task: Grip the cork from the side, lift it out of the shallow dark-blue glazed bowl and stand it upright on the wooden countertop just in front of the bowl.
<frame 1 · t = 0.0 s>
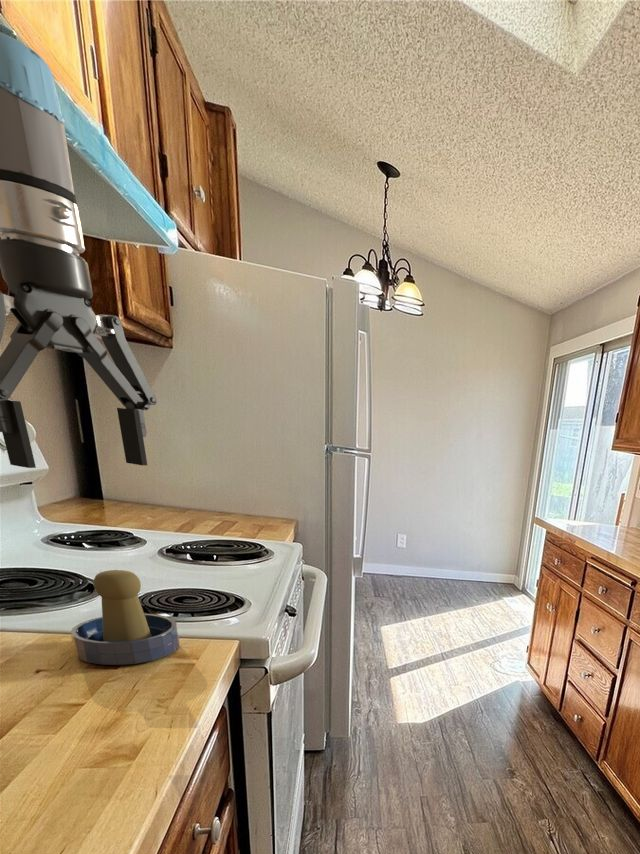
hand: (85, 465, 66), 25 cm above the worktop, tool pointing down, fingers open, 13 cm apart
cork: (130, 649, 79), resting on bowl
bowl: (130, 650, 79), on the worktop
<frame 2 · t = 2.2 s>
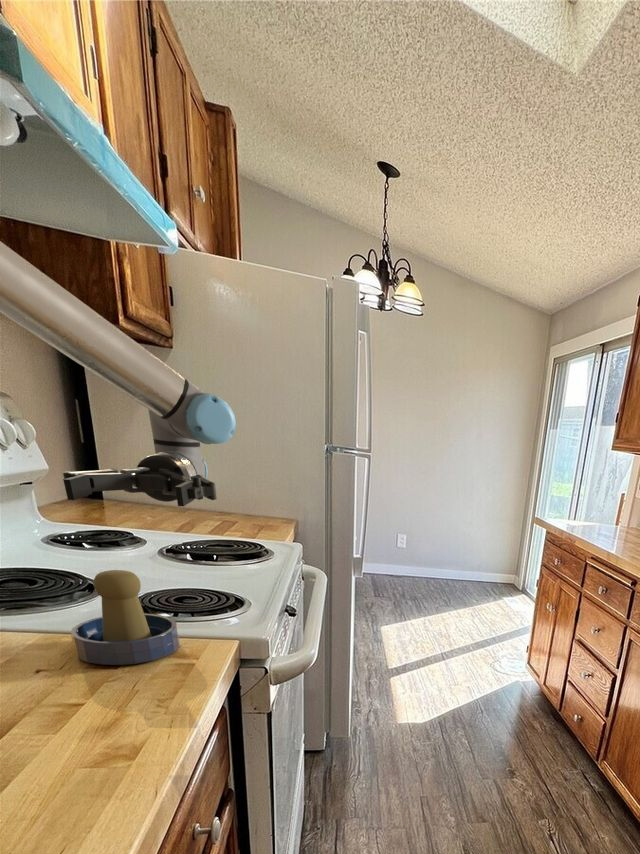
hand: (125, 493, 78), 20 cm above the worktop, tool horizontal, fingers open, 13 cm apart
nothing on the worktop moved.
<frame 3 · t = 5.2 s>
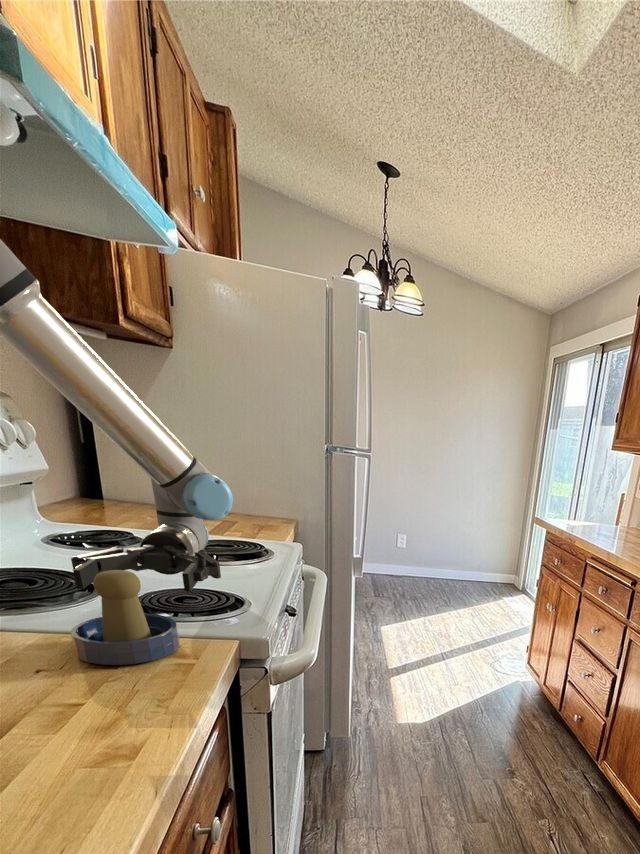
hand: (133, 581, 81), 8 cm above the worktop, tool horizontal, fingers open, 13 cm apart
nothing on the worktop moved.
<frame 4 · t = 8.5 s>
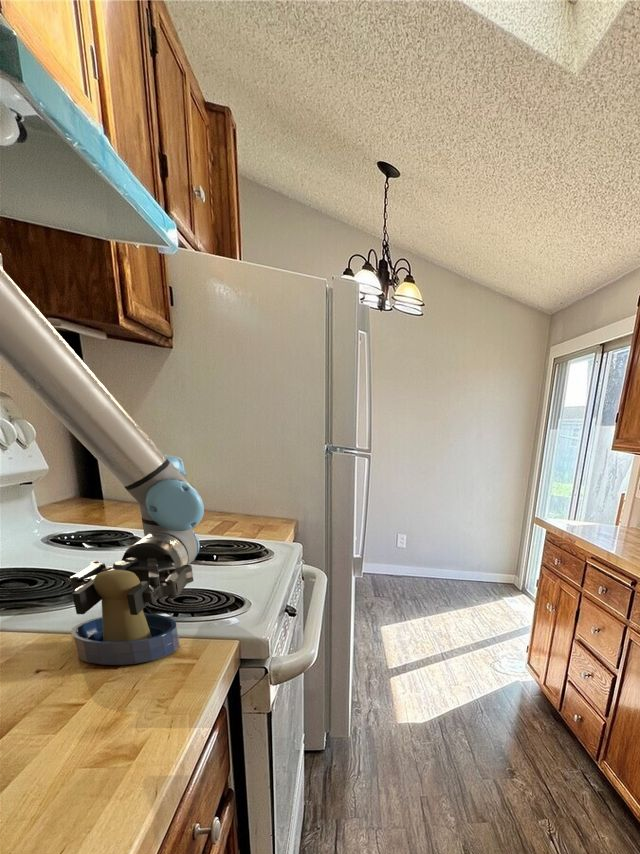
hand: (105, 604, 71), 8 cm above the worktop, tool horizontal, fingers closed on cork, 5 cm apart
cork: (130, 649, 79), resting on bowl, touching gripper
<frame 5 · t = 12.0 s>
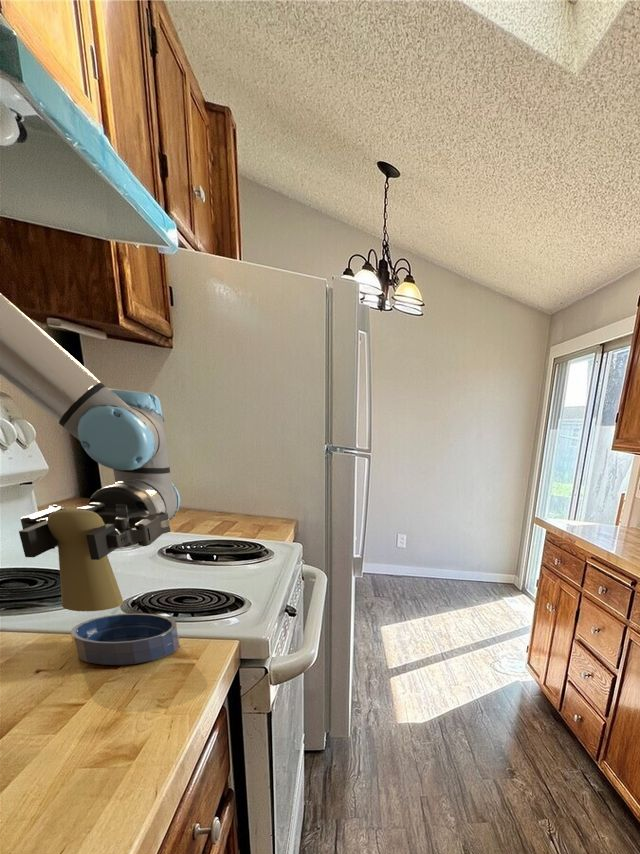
hand: (60, 545, 59), 18 cm above the worktop, tool horizontal, fingers closed on cork, 5 cm apart
cork: (93, 605, 67), point 10 cm above the worktop, touching gripper
when the fingers open (8 cm above the worktop, at t = 15.5 s): cork stays where it is, on the worktop.
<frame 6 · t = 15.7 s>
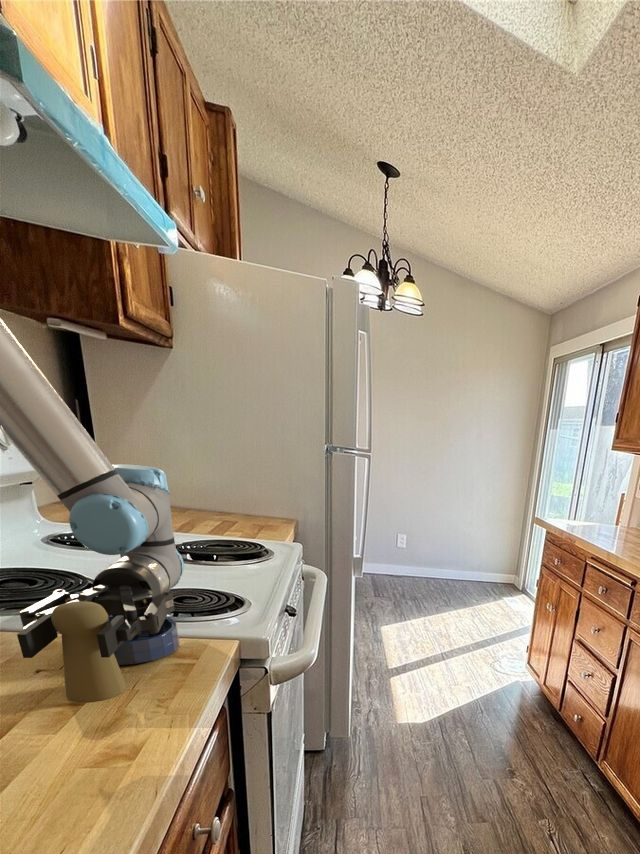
hand: (64, 646, 60), 8 cm above the worktop, tool horizontal, fingers open, 6 cm apart
cork: (97, 691, 68), on the worktop
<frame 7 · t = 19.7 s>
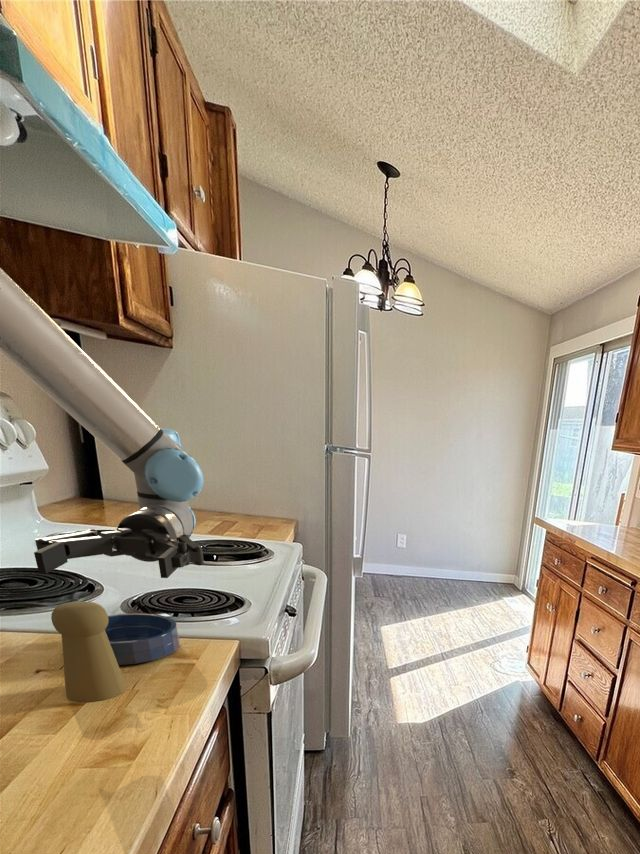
hand: (102, 565, 72), 13 cm above the worktop, tool horizontal, fingers open, 13 cm apart
nothing on the worktop moved.
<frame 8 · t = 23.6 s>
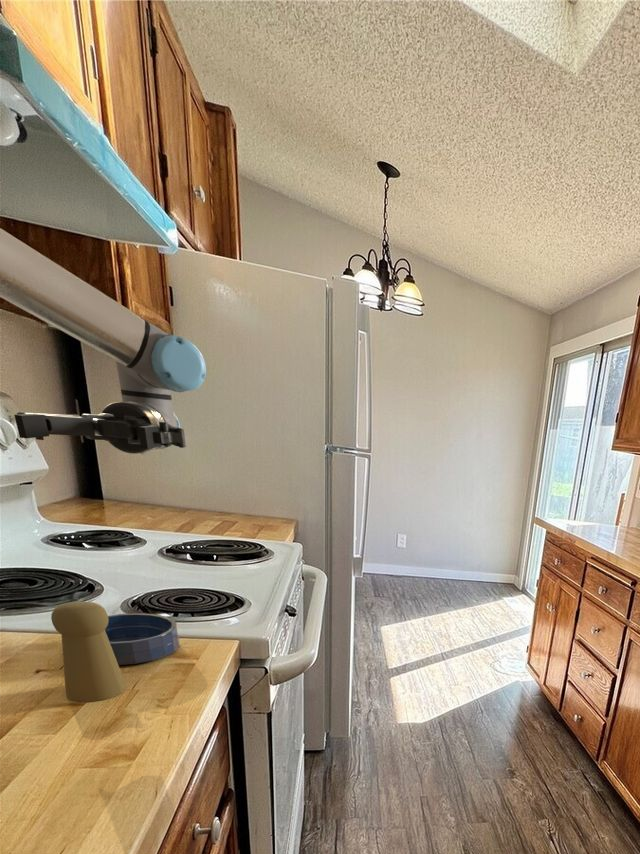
hand: (83, 432, 72), 28 cm above the worktop, tool horizontal, fingers open, 13 cm apart
nothing on the worktop moved.
at the end: cork inside the target area (0.2 cm from its centre), on the worktop; cork tilted 0°; cork touching worktop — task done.
